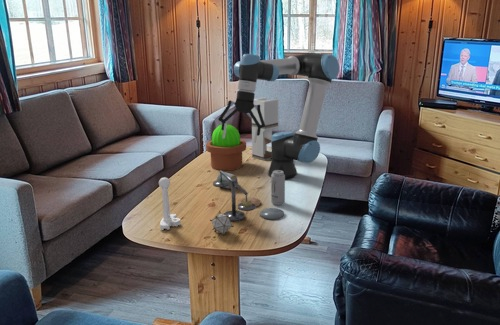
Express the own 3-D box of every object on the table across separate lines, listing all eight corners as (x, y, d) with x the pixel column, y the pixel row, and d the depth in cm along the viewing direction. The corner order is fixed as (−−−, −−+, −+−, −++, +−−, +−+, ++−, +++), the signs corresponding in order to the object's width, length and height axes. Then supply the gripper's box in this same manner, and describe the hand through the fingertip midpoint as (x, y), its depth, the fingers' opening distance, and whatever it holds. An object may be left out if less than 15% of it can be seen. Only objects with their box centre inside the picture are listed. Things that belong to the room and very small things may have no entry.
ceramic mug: (230, 191, 218) (230, 176, 215) (216, 188, 222) (216, 173, 220) (242, 185, 226) (242, 170, 224) (228, 182, 230) (228, 168, 228)
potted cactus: (232, 174, 242) (230, 128, 235) (199, 168, 253) (197, 124, 246) (253, 163, 260) (252, 121, 253) (222, 158, 271) (220, 117, 264)
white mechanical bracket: (166, 218, 188) (162, 173, 182) (183, 219, 187) (181, 173, 181) (157, 230, 177) (154, 182, 171) (176, 231, 176) (173, 182, 171)
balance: (209, 210, 195) (207, 170, 190) (226, 205, 200) (225, 166, 195) (243, 230, 176) (242, 185, 171) (261, 224, 181) (260, 180, 176)
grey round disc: (273, 208, 197) (273, 206, 197) (289, 215, 189) (289, 213, 189) (255, 214, 191) (255, 211, 191) (270, 221, 183) (270, 219, 183)
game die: (220, 243, 174) (207, 230, 167) (215, 228, 180) (203, 214, 174) (240, 232, 173) (228, 218, 166) (235, 217, 179) (223, 202, 173)
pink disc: (251, 197, 209) (251, 195, 209) (265, 204, 201) (265, 202, 201) (233, 203, 203) (233, 200, 203) (247, 209, 196) (247, 207, 195)
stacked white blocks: (264, 160, 265) (264, 101, 255) (252, 157, 273) (251, 99, 263) (278, 157, 273) (278, 99, 262) (265, 153, 280) (265, 97, 270)
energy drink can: (268, 202, 203) (268, 171, 199) (279, 200, 206) (279, 168, 202) (276, 207, 198) (276, 174, 194) (287, 204, 201) (287, 172, 197)
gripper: (216, 86, 189) (209, 136, 192) (275, 95, 188) (267, 145, 191) (218, 87, 196) (212, 135, 200) (275, 95, 195) (268, 143, 198)
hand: (239, 140), depth 195 cm, fingers open, 13 cm apart
